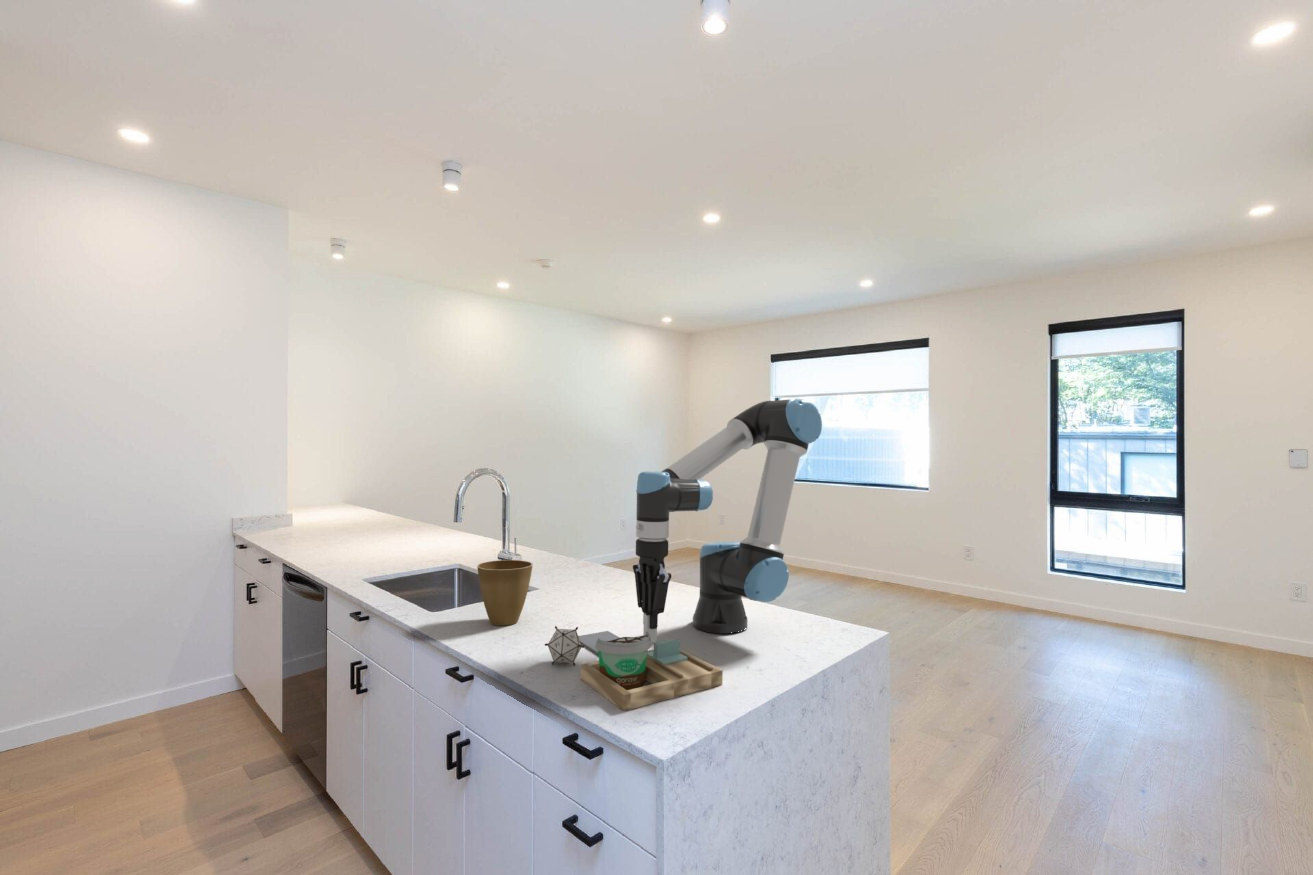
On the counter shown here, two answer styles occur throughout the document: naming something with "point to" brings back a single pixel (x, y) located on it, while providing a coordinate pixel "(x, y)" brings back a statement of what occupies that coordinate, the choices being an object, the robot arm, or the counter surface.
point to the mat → (596, 639)
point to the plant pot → (504, 589)
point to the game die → (564, 645)
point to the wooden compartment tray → (655, 681)
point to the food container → (624, 660)
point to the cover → (667, 652)
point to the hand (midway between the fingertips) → (649, 641)
